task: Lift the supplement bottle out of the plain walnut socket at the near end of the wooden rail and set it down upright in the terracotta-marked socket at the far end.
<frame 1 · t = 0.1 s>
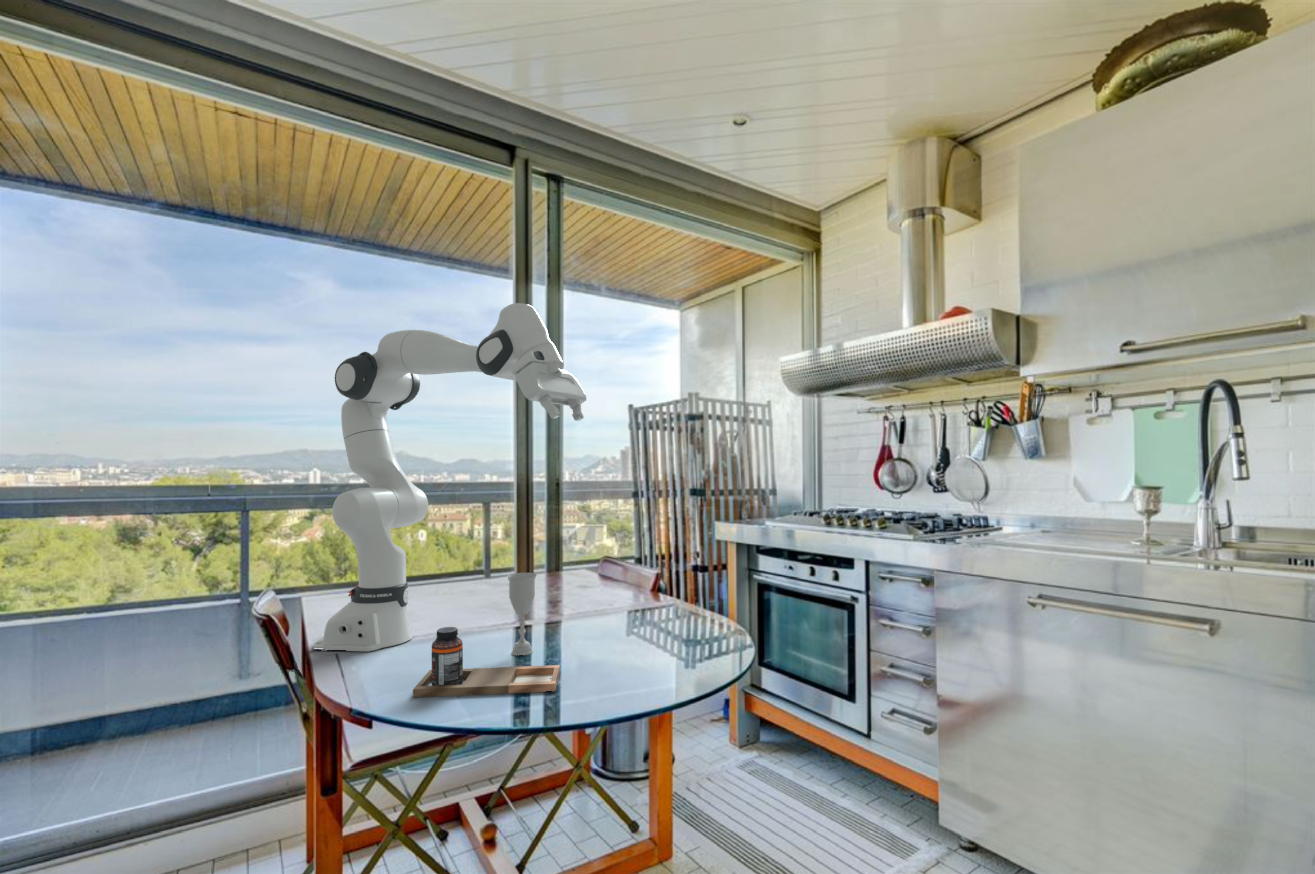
hand: (568, 418, 135), 54 cm above the table, tool tilted 30°, fingers open, 8 cm apart
chalice: (522, 653, 145), on the table
supplement bottle: (447, 687, 123), resting in socket rail
socket rail: (490, 684, 124), on the table
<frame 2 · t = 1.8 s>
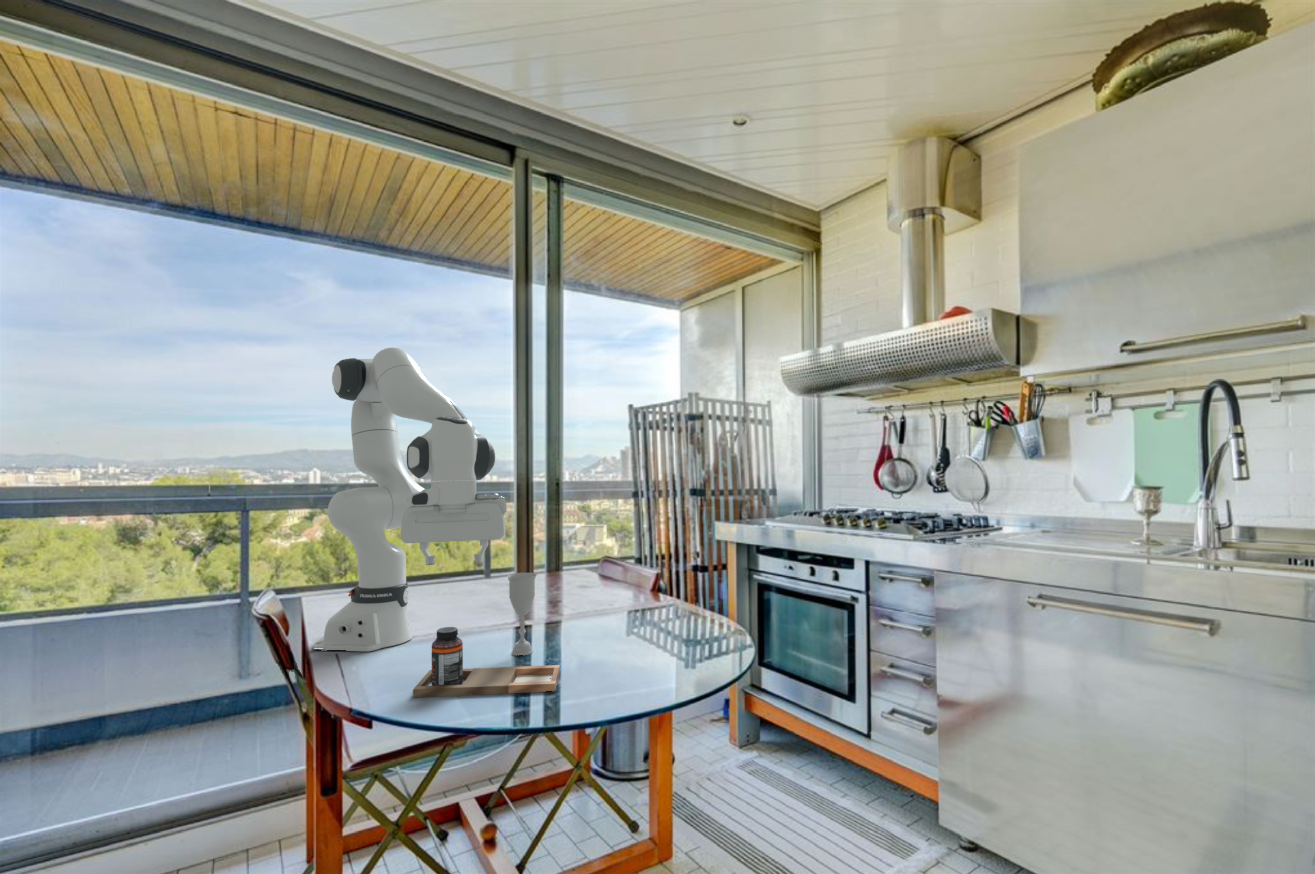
hand: (454, 563, 124), 24 cm above the table, tool pointing down, fingers open, 8 cm apart
nothing on the table moved.
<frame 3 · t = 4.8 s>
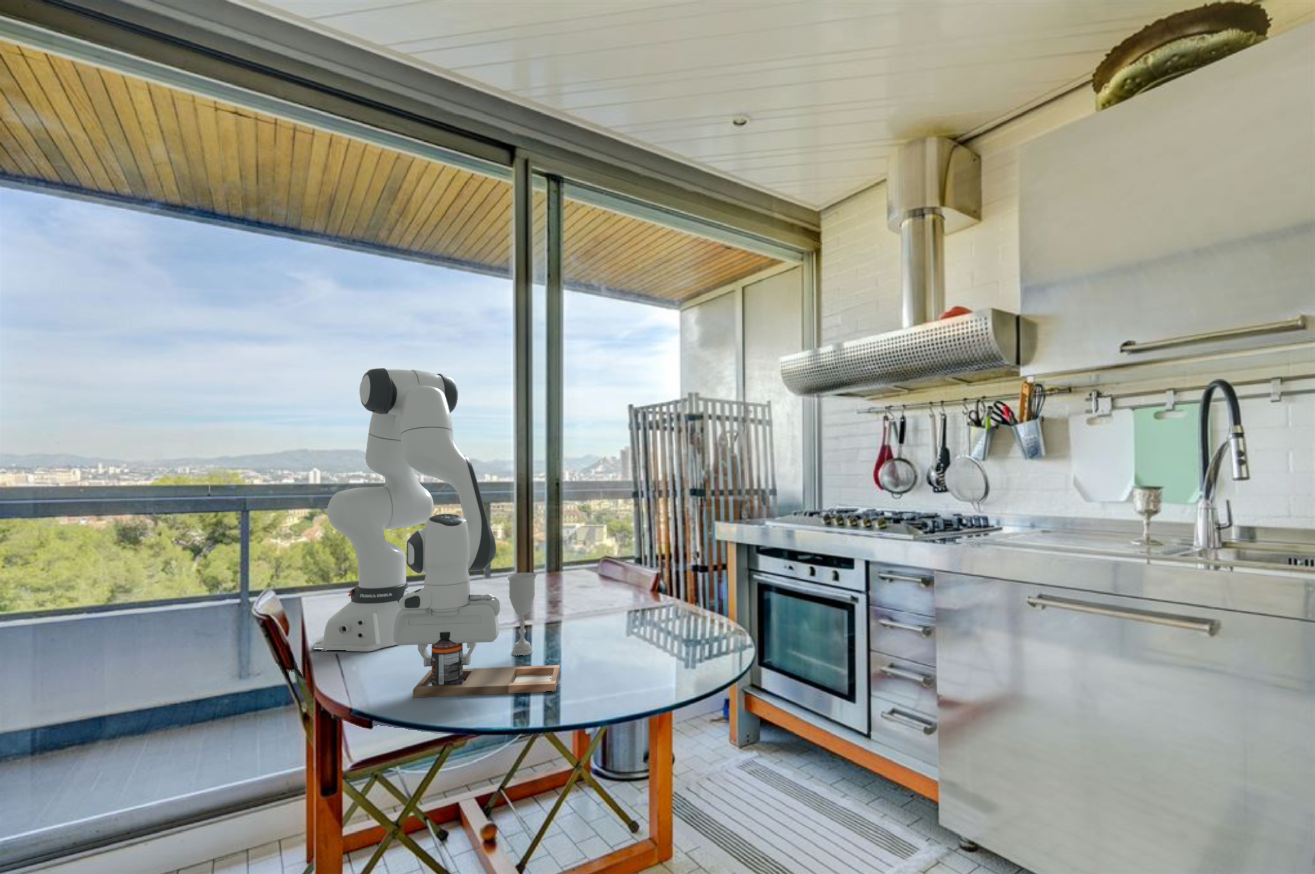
hand: (447, 665, 124), 4 cm above the table, tool pointing down, fingers closed on supplement bottle, 6 cm apart
supplement bottle: (447, 686, 123), resting in socket rail, touching gripper
everything else where it was.
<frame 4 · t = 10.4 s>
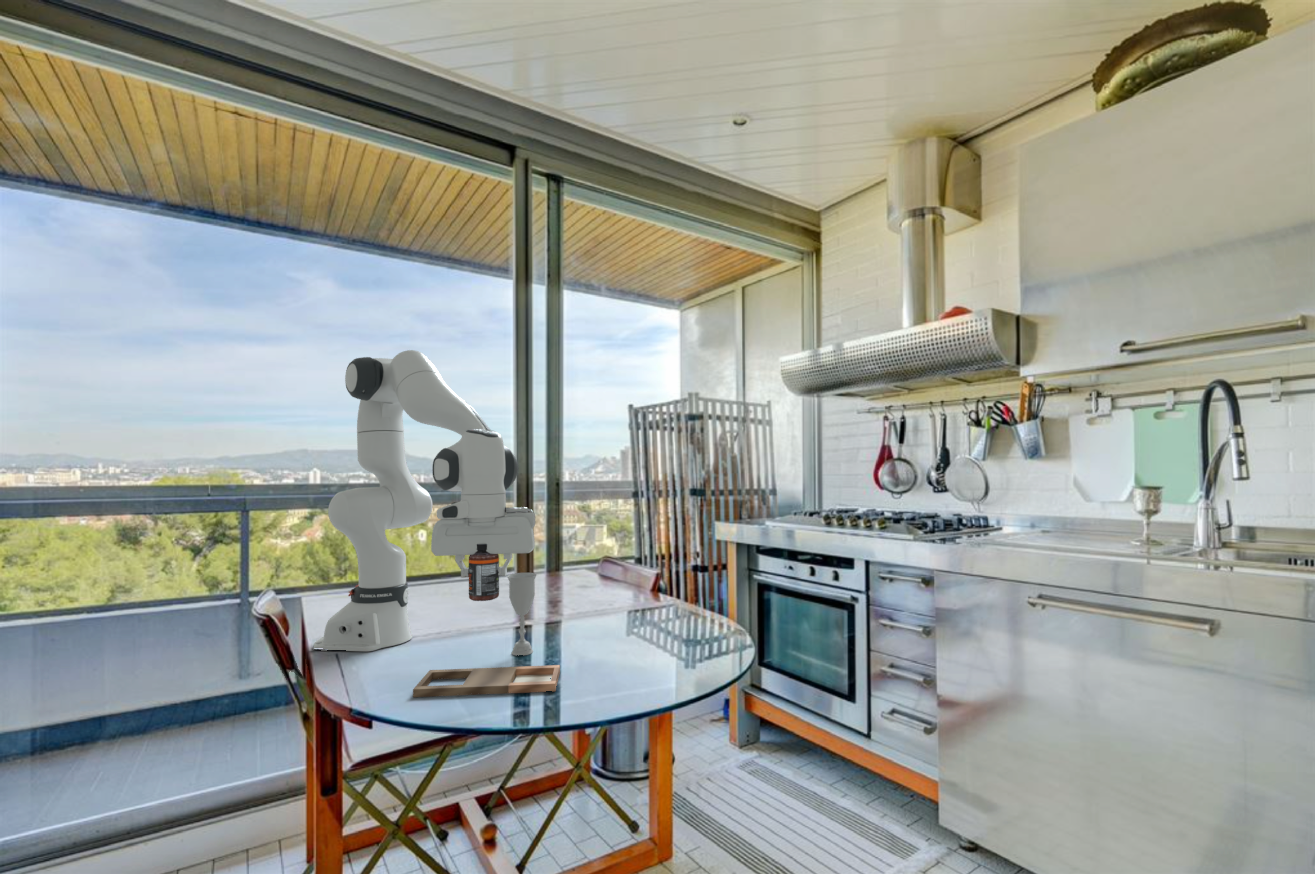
hand: (484, 576, 125), 22 cm above the table, tool pointing down, fingers closed on supplement bottle, 6 cm apart
supplement bottle: (484, 599, 124), point 17 cm above the table, touching gripper
everything else where it was.
when the fingers open (5 cm above the table, at t = 15.9 s): supplement bottle stays where it is, resting on socket rail.
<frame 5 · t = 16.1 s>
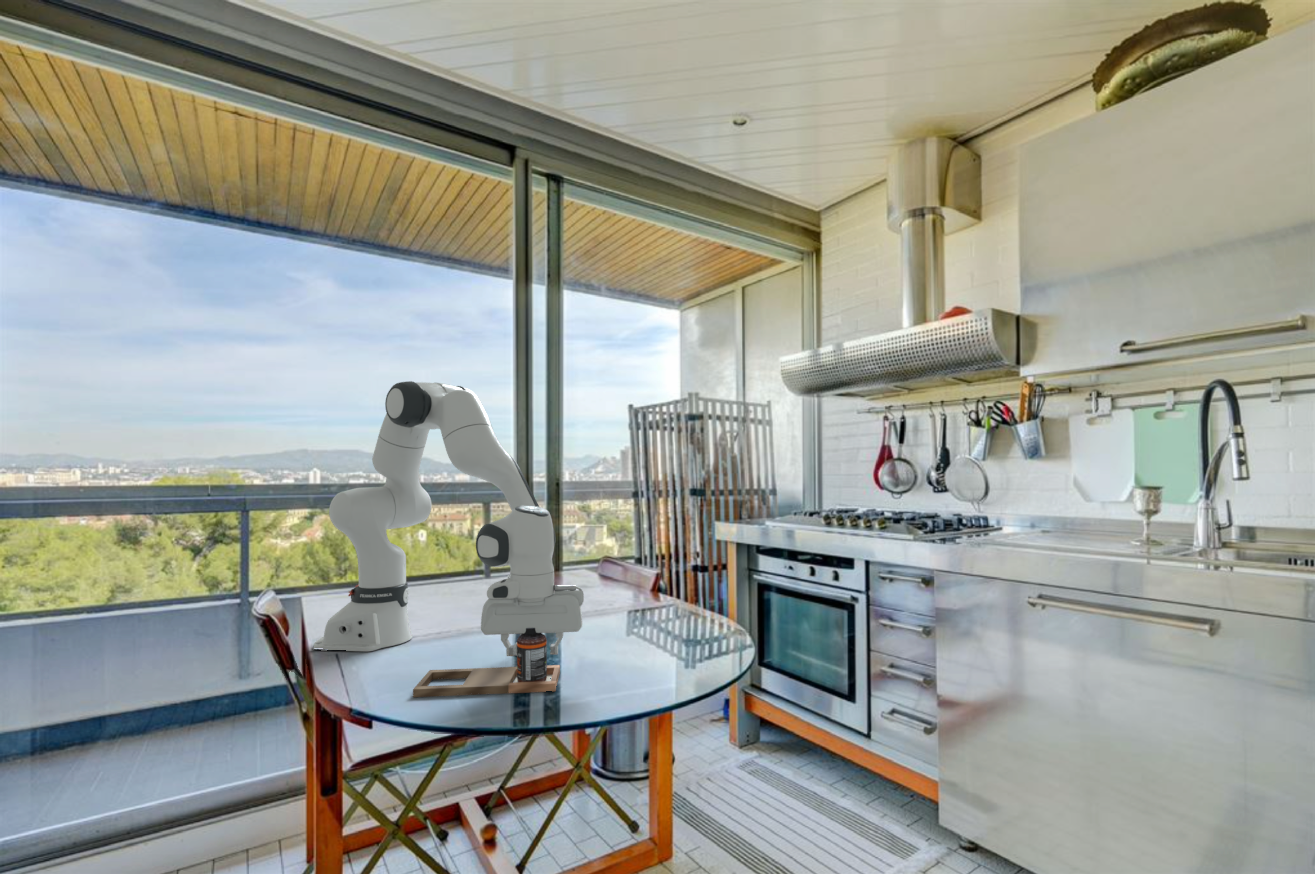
hand: (532, 654, 125), 6 cm above the table, tool pointing down, fingers open, 7 cm apart
supplement bottle: (532, 682, 125), resting on socket rail
everything else where it was.
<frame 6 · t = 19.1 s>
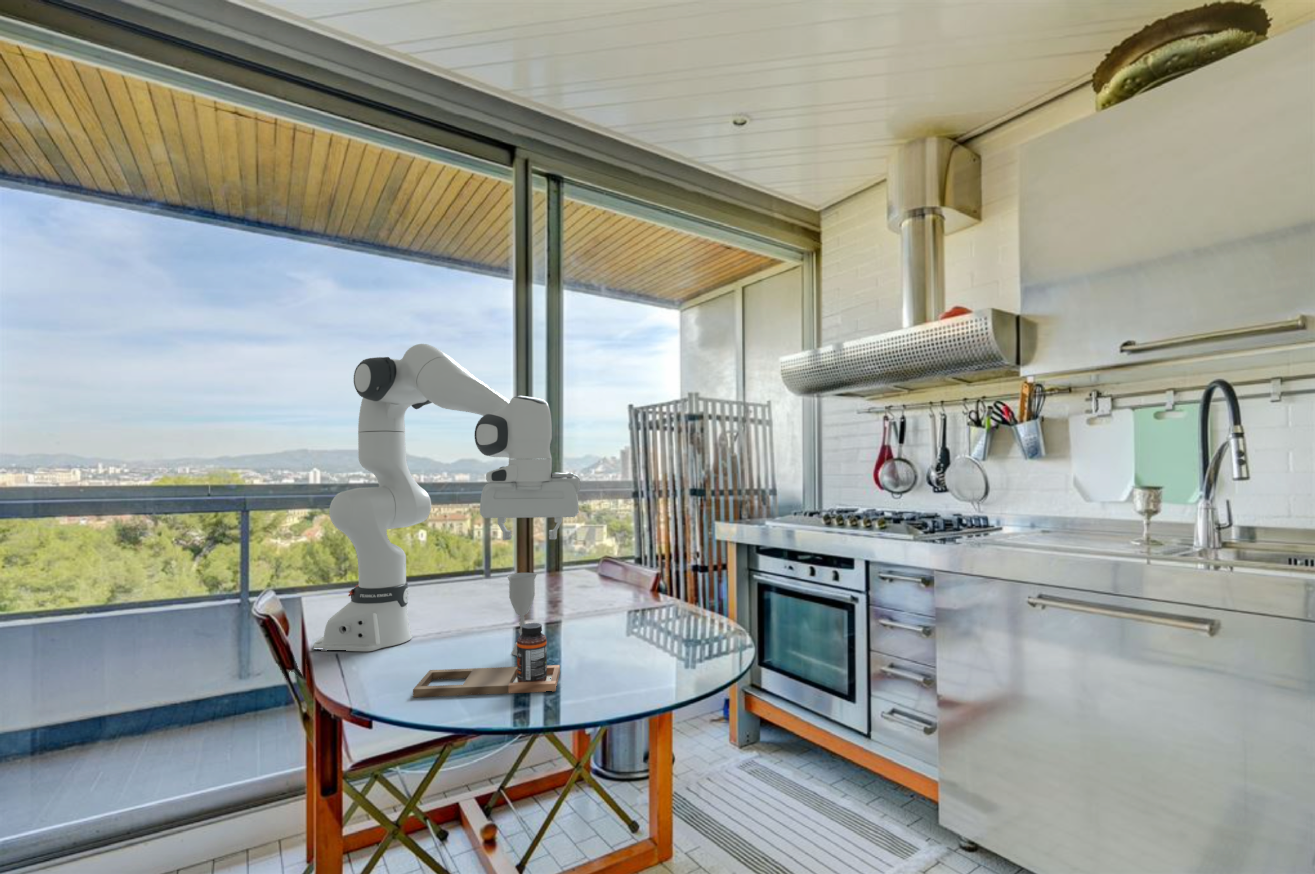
hand: (530, 539, 128), 29 cm above the table, tool pointing down, fingers open, 8 cm apart
nothing on the table moved.
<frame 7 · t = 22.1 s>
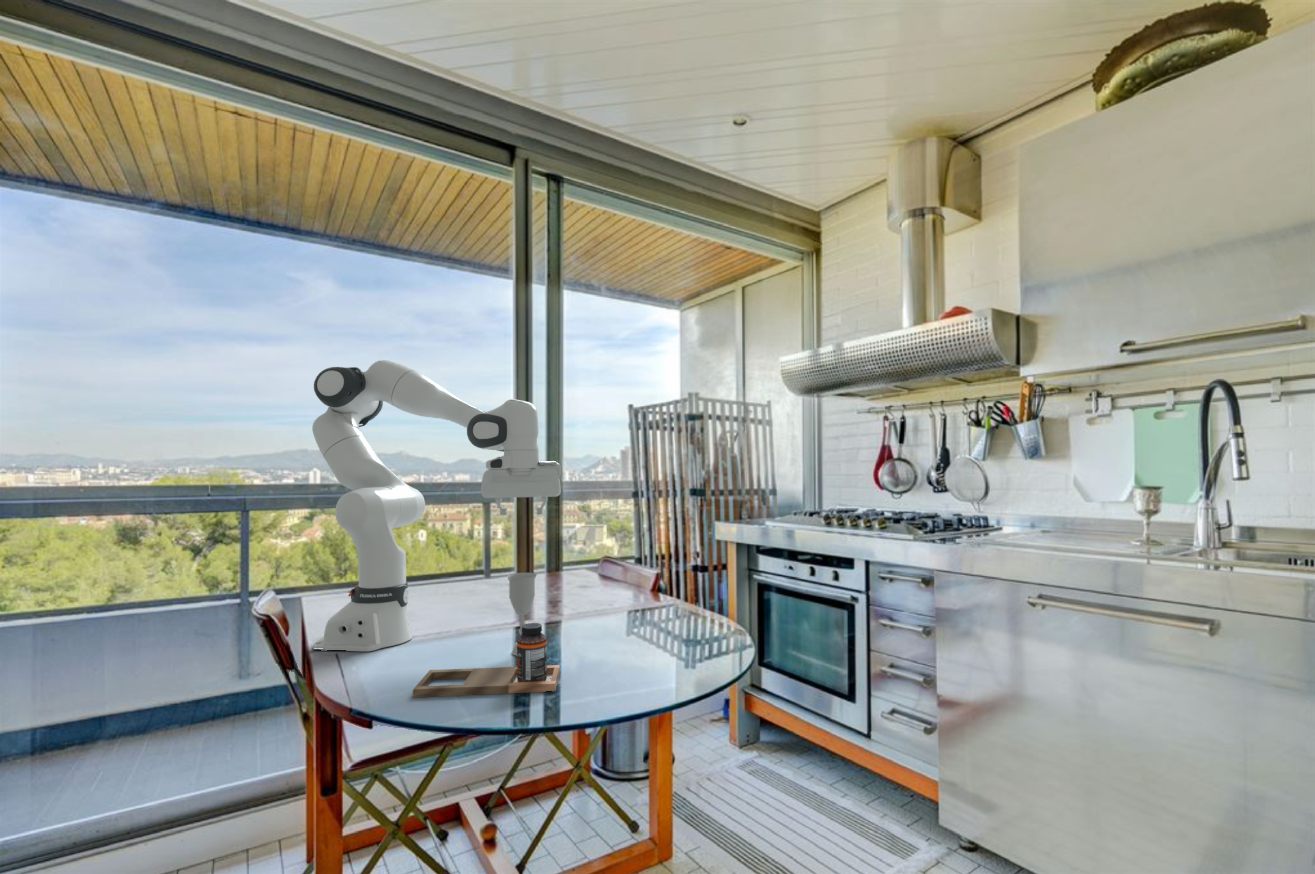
hand: (521, 514, 160), 31 cm above the table, tool pointing down, fingers open, 8 cm apart
nothing on the table moved.
at the end: supplement bottle 0.2 cm from the target spot on the socket rail, point 0.0 cm above the socket rail's base; supplement bottle tilted 0°; the gripper is holding nothing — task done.
